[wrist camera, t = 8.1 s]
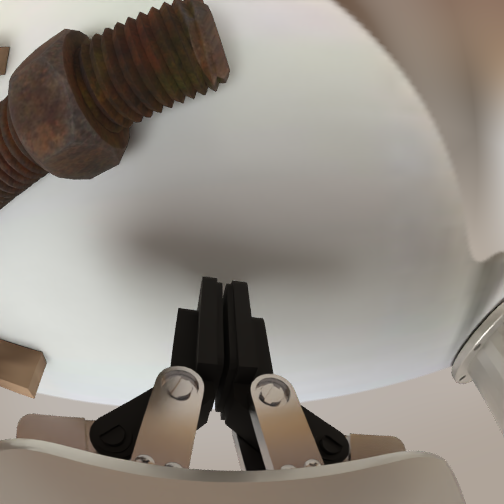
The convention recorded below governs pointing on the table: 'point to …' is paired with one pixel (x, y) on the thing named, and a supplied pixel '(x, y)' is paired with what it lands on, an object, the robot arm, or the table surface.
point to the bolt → (102, 92)
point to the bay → (14, 356)
